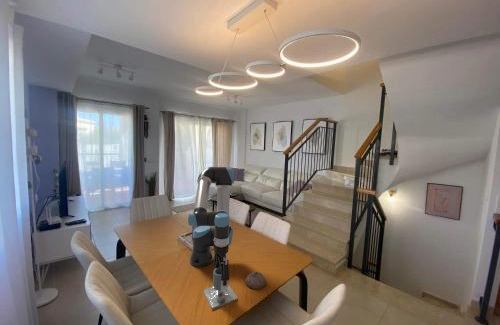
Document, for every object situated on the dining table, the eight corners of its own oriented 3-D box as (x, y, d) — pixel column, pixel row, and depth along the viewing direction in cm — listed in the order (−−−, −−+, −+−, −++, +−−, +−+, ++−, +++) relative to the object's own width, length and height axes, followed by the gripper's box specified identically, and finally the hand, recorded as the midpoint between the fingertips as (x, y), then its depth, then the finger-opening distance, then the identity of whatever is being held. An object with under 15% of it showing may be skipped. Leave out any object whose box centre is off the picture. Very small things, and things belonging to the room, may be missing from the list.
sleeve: (210, 283, 110) (211, 269, 109) (223, 279, 114) (224, 265, 113) (216, 293, 103) (216, 277, 102) (230, 288, 107) (230, 273, 106)
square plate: (203, 291, 112) (203, 281, 111) (226, 283, 119) (227, 273, 118) (212, 309, 100) (212, 298, 99) (237, 299, 107) (238, 288, 106)
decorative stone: (242, 287, 117) (242, 278, 116) (249, 274, 128) (249, 266, 128) (262, 292, 113) (263, 282, 113) (267, 278, 125) (268, 270, 124)
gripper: (207, 237, 114) (207, 276, 116) (222, 255, 96) (221, 301, 98) (220, 234, 117) (219, 272, 119) (236, 251, 99) (235, 295, 101)
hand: (220, 285), depth 109 cm, fingers closed on sleeve, 8 cm apart
